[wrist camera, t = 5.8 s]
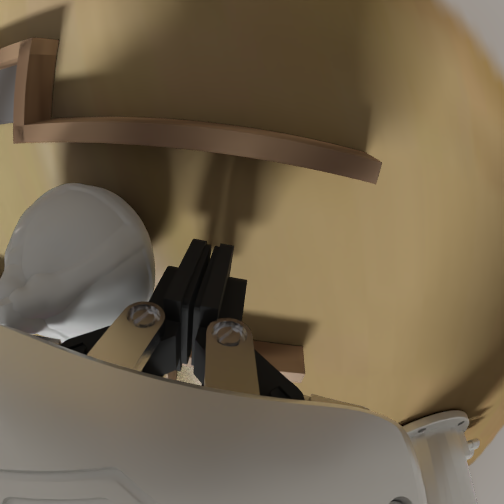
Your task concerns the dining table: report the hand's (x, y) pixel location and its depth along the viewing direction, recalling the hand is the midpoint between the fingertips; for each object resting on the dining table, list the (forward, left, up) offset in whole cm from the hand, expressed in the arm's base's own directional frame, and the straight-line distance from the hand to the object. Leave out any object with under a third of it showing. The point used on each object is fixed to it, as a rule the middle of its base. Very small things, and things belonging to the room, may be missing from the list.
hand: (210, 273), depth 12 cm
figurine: (+5, 0, -2) cm, 5 cm away
